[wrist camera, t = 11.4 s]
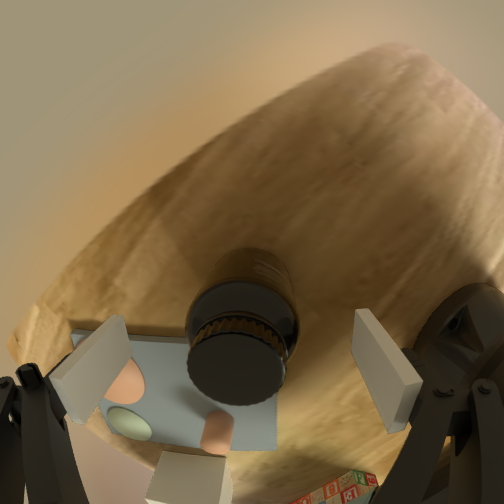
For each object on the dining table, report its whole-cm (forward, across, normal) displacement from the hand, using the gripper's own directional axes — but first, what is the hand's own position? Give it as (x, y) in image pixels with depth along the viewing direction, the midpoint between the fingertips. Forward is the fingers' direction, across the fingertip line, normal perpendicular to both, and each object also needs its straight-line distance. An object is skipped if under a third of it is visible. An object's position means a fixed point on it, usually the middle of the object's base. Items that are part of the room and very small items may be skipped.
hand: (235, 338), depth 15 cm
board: (+9, +9, +13) cm, 18 cm away
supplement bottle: (+10, 0, 0) cm, 10 cm away
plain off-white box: (+9, +9, +29) cm, 32 cm away
